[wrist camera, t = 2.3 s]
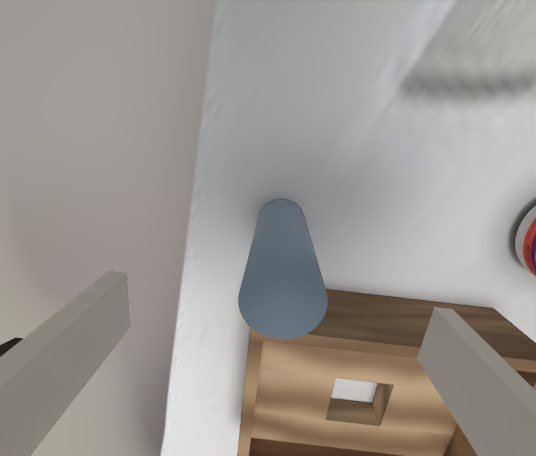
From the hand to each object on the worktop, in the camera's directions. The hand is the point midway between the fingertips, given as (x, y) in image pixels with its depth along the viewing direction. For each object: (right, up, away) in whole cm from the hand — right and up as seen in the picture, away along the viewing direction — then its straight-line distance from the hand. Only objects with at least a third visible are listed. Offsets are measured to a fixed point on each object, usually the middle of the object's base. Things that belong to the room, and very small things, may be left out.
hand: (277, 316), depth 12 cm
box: (+9, -11, +17) cm, 22 cm away
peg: (+1, +4, +12) cm, 13 cm away
